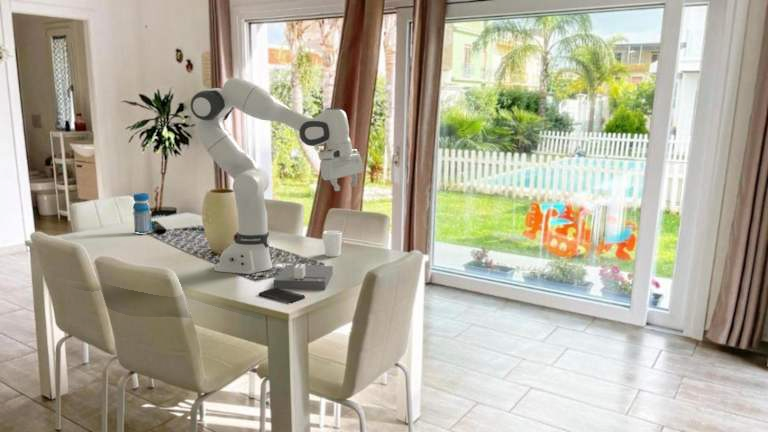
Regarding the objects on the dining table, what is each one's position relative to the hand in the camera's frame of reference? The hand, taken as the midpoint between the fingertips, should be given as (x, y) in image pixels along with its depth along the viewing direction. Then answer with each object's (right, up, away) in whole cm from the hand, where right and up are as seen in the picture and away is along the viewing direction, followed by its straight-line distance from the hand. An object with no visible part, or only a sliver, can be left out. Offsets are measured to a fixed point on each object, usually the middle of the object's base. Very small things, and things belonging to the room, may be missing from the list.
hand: (345, 188), depth 214 cm
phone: (-20, -38, -22) cm, 48 cm away
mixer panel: (-15, -34, -4) cm, 37 cm away
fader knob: (-16, -32, -10) cm, 37 cm away
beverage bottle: (-106, -19, +73) cm, 130 cm away
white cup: (-8, -27, +34) cm, 45 cm away
